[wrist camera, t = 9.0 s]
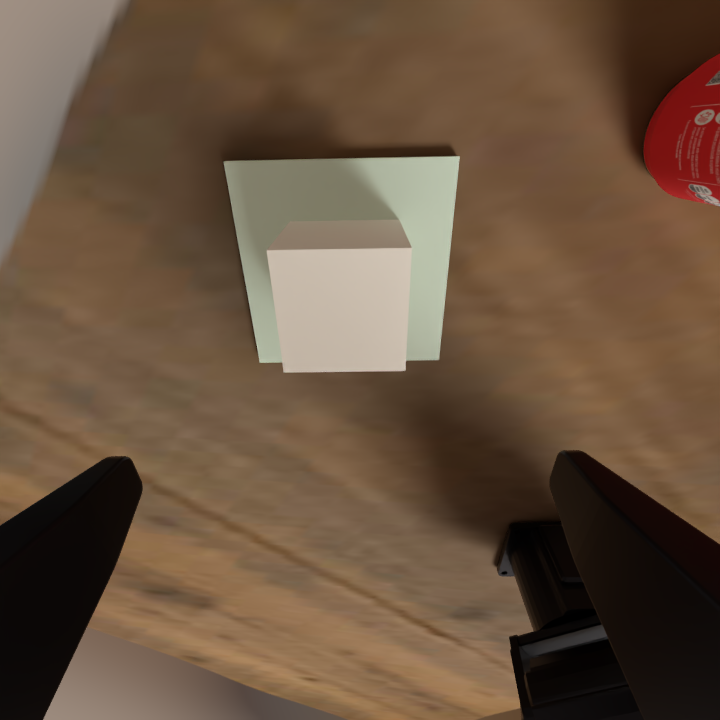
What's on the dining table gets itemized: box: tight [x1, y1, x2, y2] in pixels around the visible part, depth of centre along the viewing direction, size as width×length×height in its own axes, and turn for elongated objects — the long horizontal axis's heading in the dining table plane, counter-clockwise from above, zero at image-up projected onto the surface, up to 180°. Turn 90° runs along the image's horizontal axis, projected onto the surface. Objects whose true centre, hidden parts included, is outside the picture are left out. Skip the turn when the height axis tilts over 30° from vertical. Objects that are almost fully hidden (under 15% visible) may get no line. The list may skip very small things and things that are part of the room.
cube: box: [267, 220, 412, 373], centre depth 16 cm, size 5×5×5 cm
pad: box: [223, 156, 460, 363], centre depth 19 cm, size 10×10×1 cm
